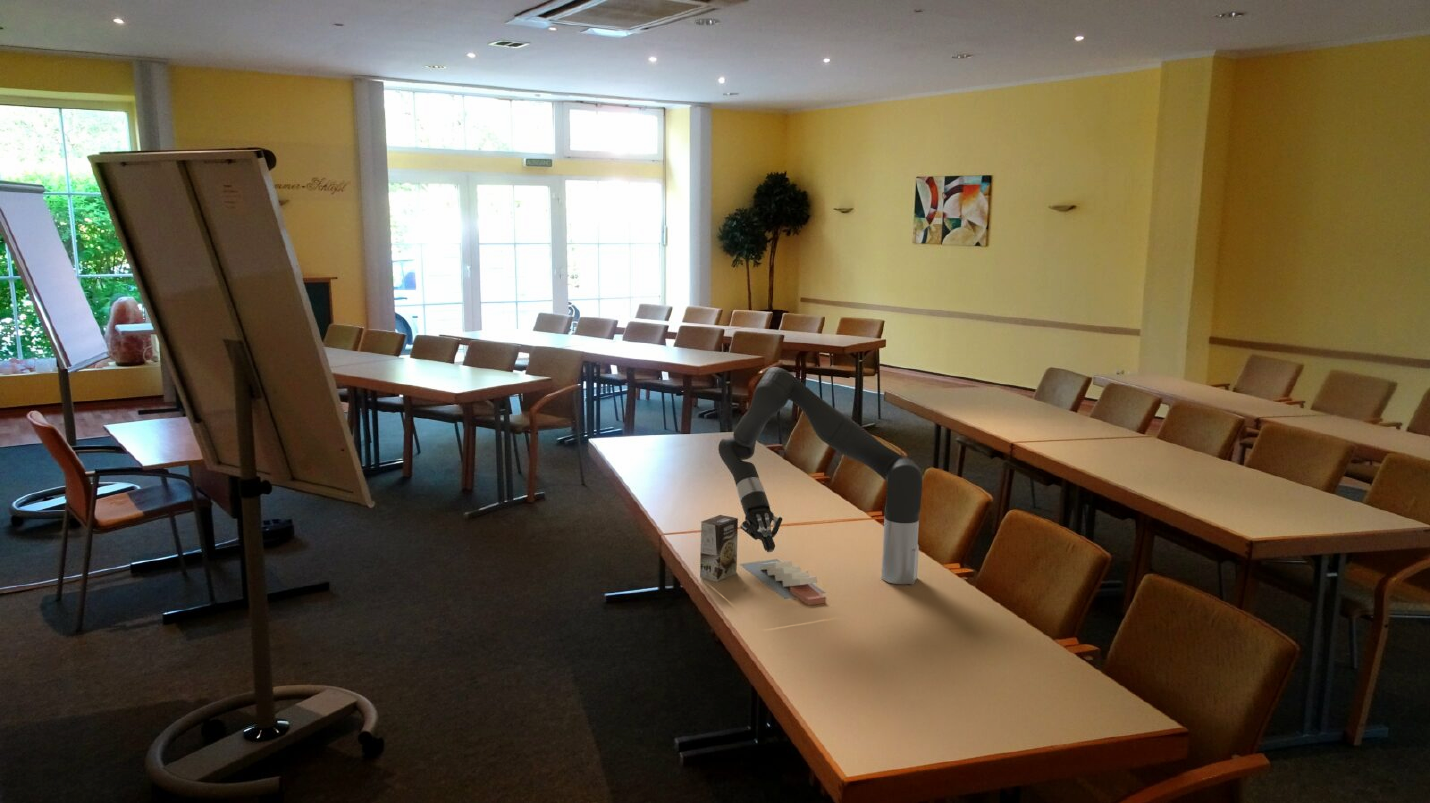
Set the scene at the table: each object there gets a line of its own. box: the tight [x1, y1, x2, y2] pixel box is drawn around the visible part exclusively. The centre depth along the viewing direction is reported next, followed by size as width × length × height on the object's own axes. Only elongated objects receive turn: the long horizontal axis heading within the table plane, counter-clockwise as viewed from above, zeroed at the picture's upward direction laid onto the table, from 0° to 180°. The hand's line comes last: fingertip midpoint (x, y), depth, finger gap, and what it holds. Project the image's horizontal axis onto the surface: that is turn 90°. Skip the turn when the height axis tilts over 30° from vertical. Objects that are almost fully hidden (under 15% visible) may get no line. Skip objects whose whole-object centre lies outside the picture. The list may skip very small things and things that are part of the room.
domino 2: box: [767, 565, 802, 575], centre depth 260 cm, size 5×2×10 cm
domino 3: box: [775, 570, 810, 581], centre depth 255 cm, size 5×2×10 cm
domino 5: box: [790, 584, 827, 606], centre depth 248 cm, size 5×2×10 cm
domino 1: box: [759, 560, 793, 570], centre depth 264 cm, size 5×2×10 cm
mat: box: [739, 558, 826, 600], centre depth 261 cm, size 28×12×1 cm, turn 23°
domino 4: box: [782, 576, 818, 587], centre depth 251 cm, size 5×2×10 cm
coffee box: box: [699, 514, 739, 582], centre depth 262 cm, size 9×6×16 cm
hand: (770, 550), depth 266 cm, fingers closed
